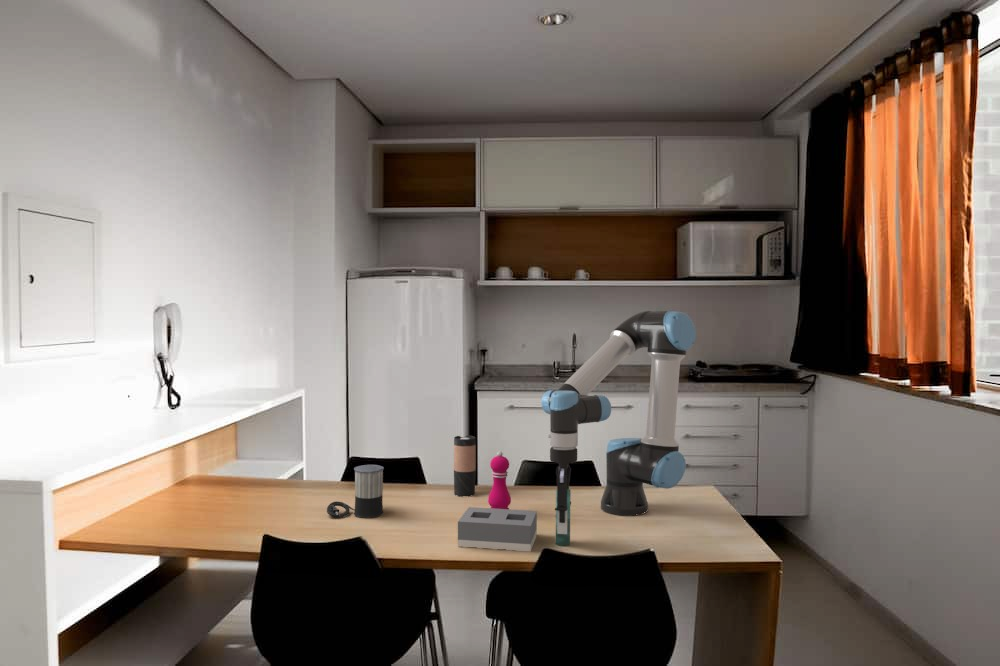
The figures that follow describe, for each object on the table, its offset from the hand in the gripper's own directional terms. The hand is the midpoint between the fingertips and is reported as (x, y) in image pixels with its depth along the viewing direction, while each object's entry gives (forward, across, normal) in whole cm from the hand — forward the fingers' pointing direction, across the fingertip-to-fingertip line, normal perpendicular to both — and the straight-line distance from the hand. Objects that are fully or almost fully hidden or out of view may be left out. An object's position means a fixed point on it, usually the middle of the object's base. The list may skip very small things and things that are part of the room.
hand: (562, 530), depth 194 cm
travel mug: (+4, -45, -38) cm, 59 cm away
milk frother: (+4, -15, -66) cm, 68 cm away
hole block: (+4, +1, -18) cm, 18 cm away
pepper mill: (+4, -24, -22) cm, 33 cm away
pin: (+4, 0, 0) cm, 4 cm away
